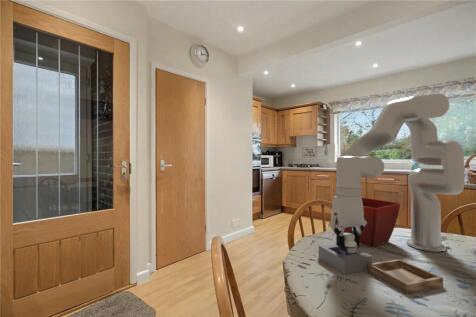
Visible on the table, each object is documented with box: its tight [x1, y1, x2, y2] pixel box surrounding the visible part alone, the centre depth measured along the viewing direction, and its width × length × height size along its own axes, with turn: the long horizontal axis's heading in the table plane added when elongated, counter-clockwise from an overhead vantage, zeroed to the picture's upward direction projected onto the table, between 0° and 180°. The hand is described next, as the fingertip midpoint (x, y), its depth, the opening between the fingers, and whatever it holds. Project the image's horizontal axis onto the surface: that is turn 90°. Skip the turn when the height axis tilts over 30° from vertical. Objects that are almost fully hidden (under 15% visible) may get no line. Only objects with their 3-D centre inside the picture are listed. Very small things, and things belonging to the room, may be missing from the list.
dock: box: [318, 242, 373, 276], centre depth 81 cm, size 10×13×4 cm
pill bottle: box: [339, 233, 358, 256], centre depth 82 cm, size 5×5×10 cm
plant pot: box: [344, 197, 401, 247], centre depth 105 cm, size 19×19×17 cm
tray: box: [367, 258, 444, 295], centre depth 71 cm, size 13×13×2 cm
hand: (347, 245), depth 82 cm, fingers closed on pill bottle, 5 cm apart
